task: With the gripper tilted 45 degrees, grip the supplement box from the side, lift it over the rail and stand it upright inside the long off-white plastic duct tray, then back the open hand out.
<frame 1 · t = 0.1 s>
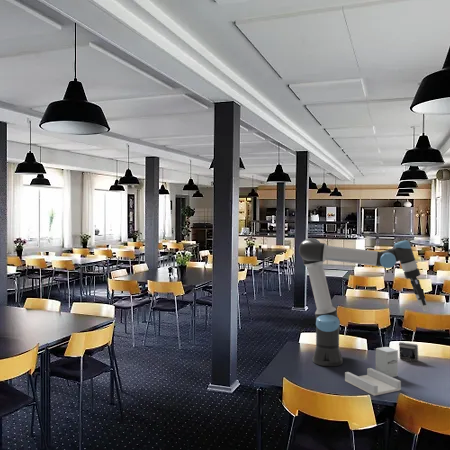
hand: (424, 308, 238), 28 cm above the table, tool tilted 20°, fingers open, 13 cm apart
supplement box: (386, 375, 219), on the table
electrical switch: (408, 360, 241), on the table
duct tray: (372, 385, 206), on the table
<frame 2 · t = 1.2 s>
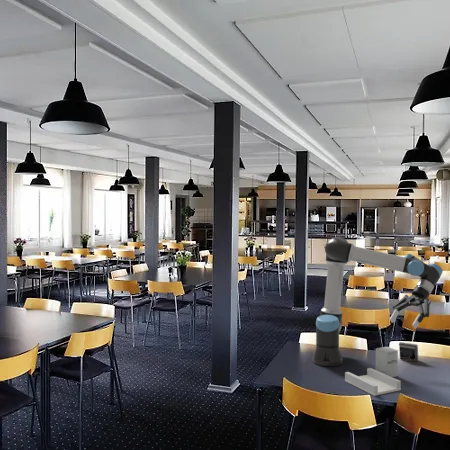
hand: (402, 323, 223), 23 cm above the table, tool tilted 45°, fingers open, 13 cm apart
nothing on the table moved.
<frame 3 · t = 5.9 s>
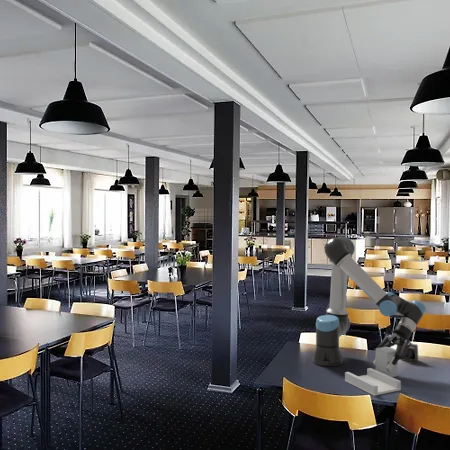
hand: (381, 366, 217), 5 cm above the table, tool tilted 45°, fingers closed on supplement box, 7 cm apart
supplement box: (386, 375, 219), on the table, touching gripper
everything else where it was.
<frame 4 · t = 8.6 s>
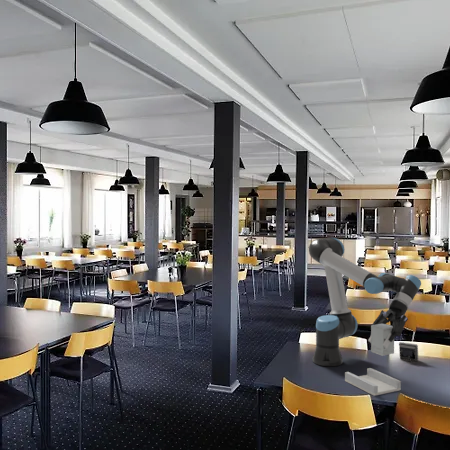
hand: (377, 344, 208), 18 cm above the table, tool tilted 45°, fingers closed on supplement box, 7 cm apart
supplement box: (382, 353, 210), point 13 cm above the table, touching gripper
everything else where it was.
when the fingers open (7 cm above the table, at t = 11.6 s): supplement box drops 1 cm, resting on duct tray.
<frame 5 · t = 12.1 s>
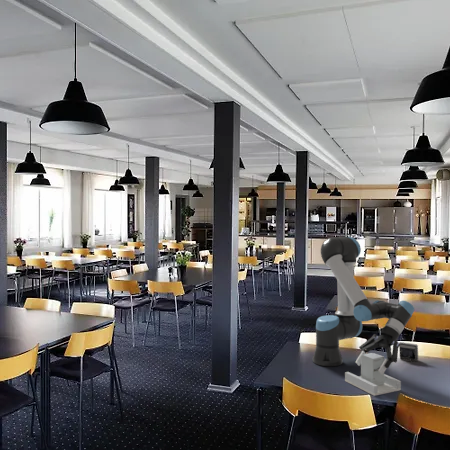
hand: (368, 368, 204), 8 cm above the table, tool tilted 45°, fingers open, 13 cm apart
supplement box: (372, 383, 206), point 1 cm above the table, touching duct tray
everything else where it was.
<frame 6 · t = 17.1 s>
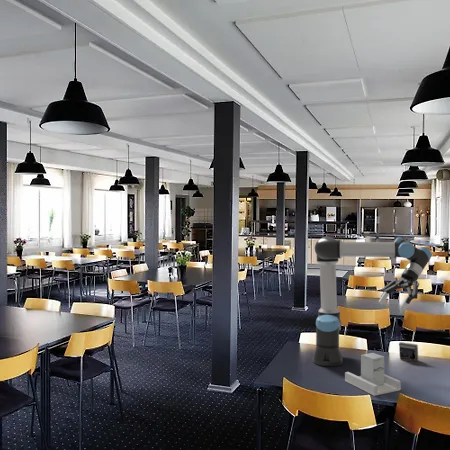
hand: (391, 305, 227), 32 cm above the table, tool tilted 45°, fingers open, 13 cm apart
nothing on the table moved.
at the end: supplement box inside the target area on the duct tray (0.1 cm from its centre), point 0.8 cm above the duct tray's base; supplement box tilted 0°; the gripper is holding nothing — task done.
